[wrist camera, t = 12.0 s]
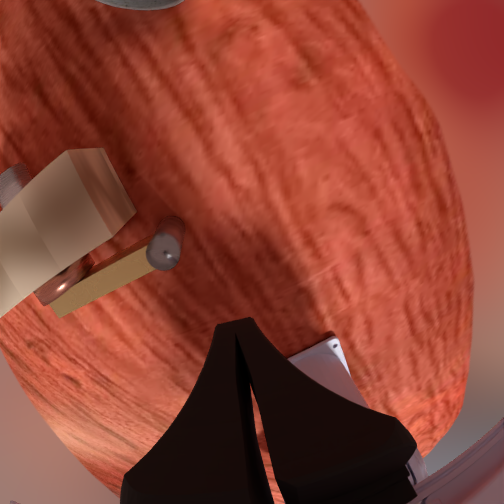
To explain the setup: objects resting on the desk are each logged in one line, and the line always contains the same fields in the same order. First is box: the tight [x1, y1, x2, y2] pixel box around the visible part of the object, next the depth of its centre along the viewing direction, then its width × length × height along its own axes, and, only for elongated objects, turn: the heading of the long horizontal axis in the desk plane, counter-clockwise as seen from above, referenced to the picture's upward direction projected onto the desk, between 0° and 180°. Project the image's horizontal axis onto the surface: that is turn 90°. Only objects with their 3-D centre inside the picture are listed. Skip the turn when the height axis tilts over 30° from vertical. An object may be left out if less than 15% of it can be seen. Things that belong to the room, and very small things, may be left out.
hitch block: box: [0, 148, 137, 318], centre depth 14 cm, size 5×12×5 cm, turn 115°
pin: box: [0, 163, 95, 306], centre depth 13 cm, size 8×5×5 cm, turn 25°
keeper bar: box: [49, 216, 185, 318], centre depth 16 cm, size 10×2×5 cm, turn 113°
